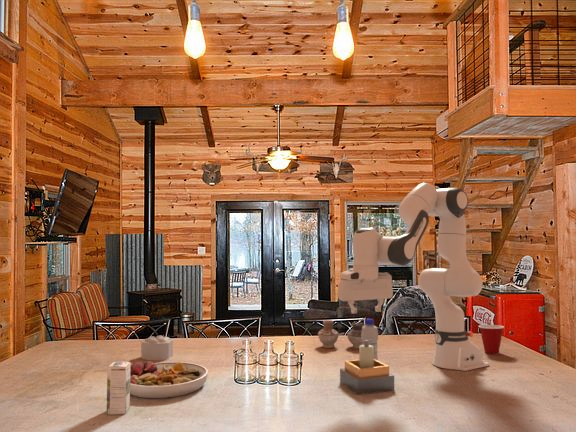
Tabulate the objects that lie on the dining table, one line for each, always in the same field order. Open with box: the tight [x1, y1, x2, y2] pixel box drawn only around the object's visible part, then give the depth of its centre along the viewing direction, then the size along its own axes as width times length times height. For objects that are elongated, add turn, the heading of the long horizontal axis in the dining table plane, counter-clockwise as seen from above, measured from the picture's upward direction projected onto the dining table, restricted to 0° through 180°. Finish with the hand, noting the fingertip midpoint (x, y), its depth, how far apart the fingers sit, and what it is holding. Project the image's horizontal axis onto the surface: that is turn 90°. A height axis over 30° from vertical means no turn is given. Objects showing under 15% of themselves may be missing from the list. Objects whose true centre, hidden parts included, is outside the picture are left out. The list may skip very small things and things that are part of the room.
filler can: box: [358, 340, 374, 368], centre depth 179 cm, size 5×5×11 cm
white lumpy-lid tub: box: [140, 335, 174, 361], centre depth 220 cm, size 10×13×9 cm
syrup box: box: [106, 361, 132, 416], centre depth 156 cm, size 6×6×14 cm
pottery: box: [317, 320, 365, 349], centre depth 237 cm, size 11×25×12 cm, turn 85°
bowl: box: [130, 360, 209, 399], centre depth 180 cm, size 30×30×8 cm
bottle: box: [361, 318, 379, 361], centre depth 200 cm, size 7×7×20 cm
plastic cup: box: [478, 324, 505, 355], centre depth 226 cm, size 11×11×12 cm
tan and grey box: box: [339, 359, 395, 395], centre depth 179 cm, size 14×14×8 cm
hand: (366, 312), depth 179 cm, fingers open, 8 cm apart
